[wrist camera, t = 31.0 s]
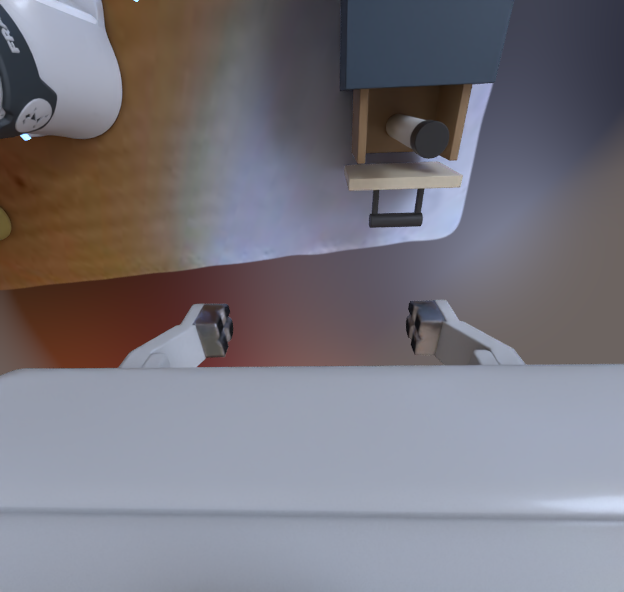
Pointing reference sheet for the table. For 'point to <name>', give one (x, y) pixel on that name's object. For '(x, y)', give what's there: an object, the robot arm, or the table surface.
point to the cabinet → (421, 42)
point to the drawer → (374, 139)
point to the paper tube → (4, 225)
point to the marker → (419, 134)
